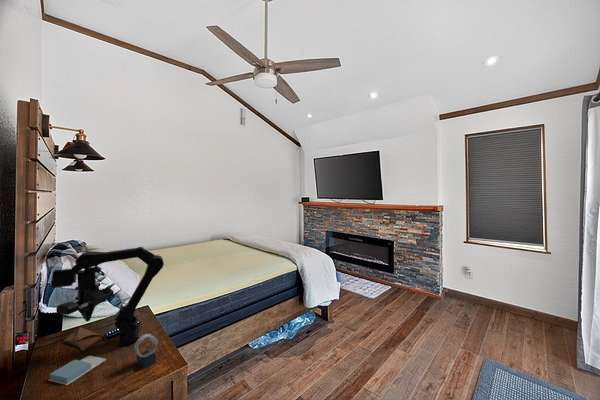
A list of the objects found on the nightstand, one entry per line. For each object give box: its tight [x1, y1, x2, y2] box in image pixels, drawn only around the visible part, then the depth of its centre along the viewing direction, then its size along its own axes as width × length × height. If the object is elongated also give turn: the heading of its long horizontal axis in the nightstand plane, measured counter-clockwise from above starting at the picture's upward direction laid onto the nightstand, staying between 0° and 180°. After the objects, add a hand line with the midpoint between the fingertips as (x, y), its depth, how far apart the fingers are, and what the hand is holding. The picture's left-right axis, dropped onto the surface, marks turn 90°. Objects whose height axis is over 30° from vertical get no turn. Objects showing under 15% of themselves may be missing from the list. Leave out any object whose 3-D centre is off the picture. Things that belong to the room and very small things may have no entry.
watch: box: [133, 333, 159, 370], centre depth 101 cm, size 6×8×11 cm
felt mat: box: [48, 355, 107, 386], centre depth 97 cm, size 14×9×1 cm, turn 166°
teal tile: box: [49, 359, 92, 385], centre depth 94 cm, size 2×8×8 cm
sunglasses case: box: [61, 326, 106, 352], centre depth 115 cm, size 18×7×7 cm, turn 67°
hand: (87, 320), depth 107 cm, fingers closed
